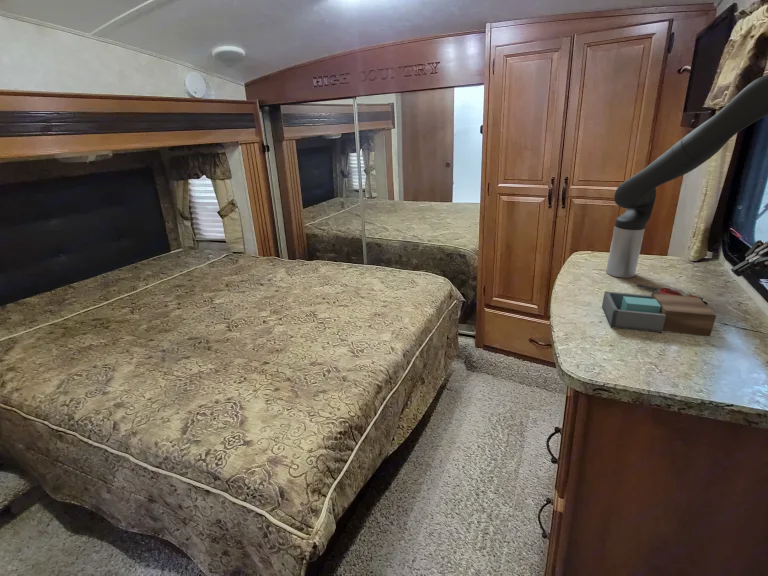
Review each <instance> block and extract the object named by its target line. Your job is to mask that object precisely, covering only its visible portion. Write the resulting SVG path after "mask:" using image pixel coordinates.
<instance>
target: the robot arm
mask: <svg viewBox="0 0 768 576" xmlns="http://www.w3.org/2000/svg"><path fill="white" fill-rule="evenodd" d="M767 116H768V74H766V75H763V76H761V77H758V78H756V79H754V80H753V81H752V82H750V83H749V84H747V85H746V86H745V87H744V88H743V89H742V90H741V91H740V92H738V94H737V95H735V96H734V98H732V99H731V101H729V102H728V103H727V104H726V105H725V106H724V107H723V108H721V109H720V110H719V111H718V112H717V113H716V114H714V115H713V116H711V117H710V118H709V119H707V120H706V121H704V122H702V123H701V124H699V126H697V127H696V128H694V129H693V130H691V131H690V132H689V133H687V134H685V136H683V137H682V138H681V139H679V141H677V142H676V143H674V144H673V145H672V146H671V147H670V148H669V149H667V150H666V151H665V152H663V153H662V154H661V155H660V156H658V157H657V158H656V159H655V160H653V161H652V162H651V163H650V164H648V165H647V166H646V167H644V168H643V169H641V170H640V171H639V172H637V173H635V174H634V175H632V176H631V177H629V178H628V179H626V180H624V181H623V182H622V183H620V184H619V185H618V186H617V188H616V190H615V192H614V195H613V196H614V197H613V199H614V203H615V204H616V205H617V206H618V207H620V208H623V209H626V210H625V211H624V212H623V213H622V214H620V215H619V216H617V218H616V219H615V223H614V226H613V233H612V239H611V243H610V249H609V254H608V260H607V263H606V269H605V273H606V274H608V275H610V276H612V277H616V278H626V279H627V278H629V279H630V278H634V277H635V275H636V271H637V266H638V262H639V258H640V254H641V248H642V243H643V239H644V235H645V229H646V226H647V224H648V222H649V221H650V219H651V216H652V213H653V209H654V206H655V202H656V197H657V188H658V187H659V186H662V185H663V184H666V183H668V182H670V181H673V180H676V179H678V178H680V177H682V176H684V175H686V174H689V173H691V172H692V171H694V170H695V169H697V168H699V167H700V166H701V165H703V164H704V163H706V162H707V161H708V160H710V159H711V158H712V157H714V156H715V155H716V154H717V153H718V152H719V151H720V150H721V149H722V148H723V147H724V146H725V145H726V144H727V142H728V141H730V139H732V138H733V137H734V136H735V135H737V134H738V133H739V132H741V131H742V130H744V129H746V128H747V127H749V126H751V125H752V124H754V123H756V122H757V121H758V120H761V119H763V118H765V117H767ZM744 256H745V257H746V258H745V260H743V261H742V262H740V263H739V264H737V265H735V266H733V267H732V268H730V270H731V272H732V273H733V274H734V275H735V276H736V277H741V276H743V275H745V274H747V273H748V272H750V271H752V270H758V269H761V270H763V271H764V270H766V269H768V240H767V241H762V240H761V239H759V240H756V241H755V243H754V244H752V246H751V247H750V248H749V249H748V251H747V252H746V253H745V255H744Z"/></svg>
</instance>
